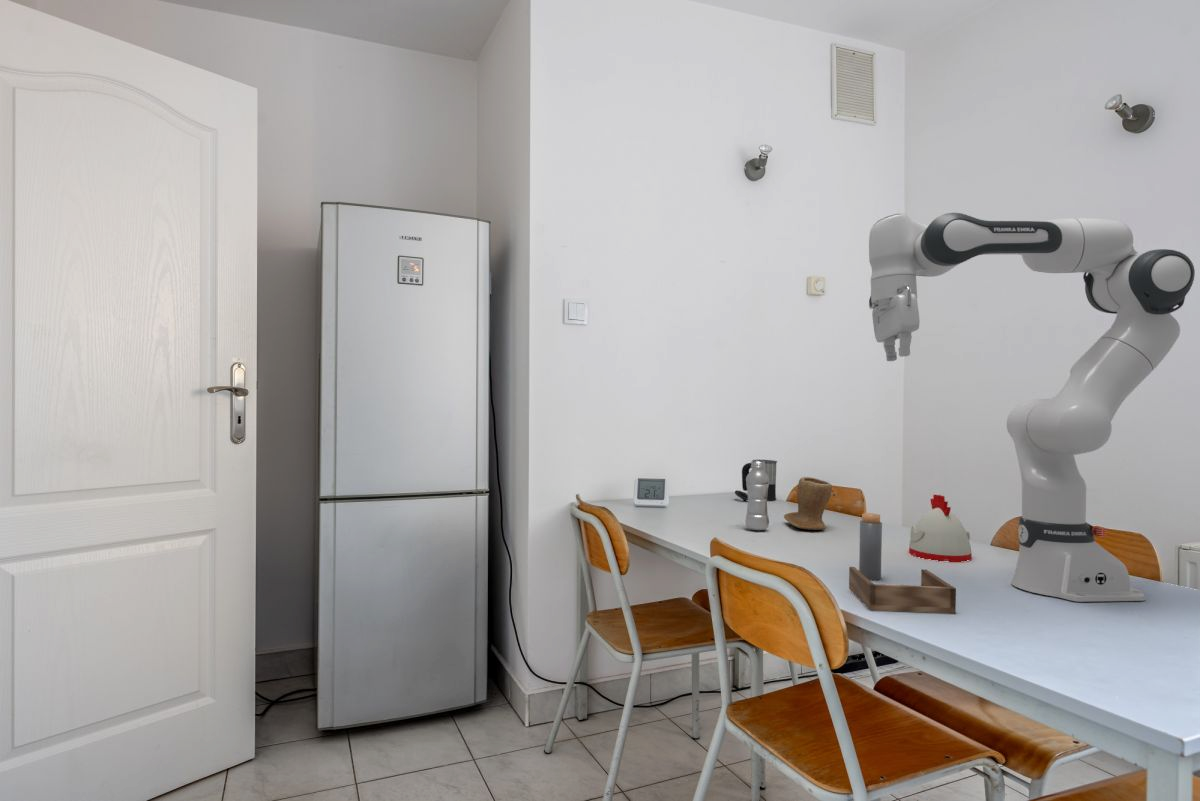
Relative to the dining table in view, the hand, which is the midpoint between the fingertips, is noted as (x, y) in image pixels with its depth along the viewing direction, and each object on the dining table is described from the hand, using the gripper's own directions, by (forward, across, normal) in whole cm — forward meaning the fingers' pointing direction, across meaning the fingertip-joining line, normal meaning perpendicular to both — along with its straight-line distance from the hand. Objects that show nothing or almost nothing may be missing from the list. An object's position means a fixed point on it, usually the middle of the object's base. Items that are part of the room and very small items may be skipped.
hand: (897, 358), depth 146 cm
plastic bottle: (+43, +56, +26) cm, 75 cm away
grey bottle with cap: (+46, +6, +7) cm, 47 cm away
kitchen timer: (+47, +32, -16) cm, 59 cm away
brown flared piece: (+44, +64, +11) cm, 78 cm away
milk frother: (+40, +118, +22) cm, 126 cm away
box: (+47, -11, +6) cm, 49 cm away
